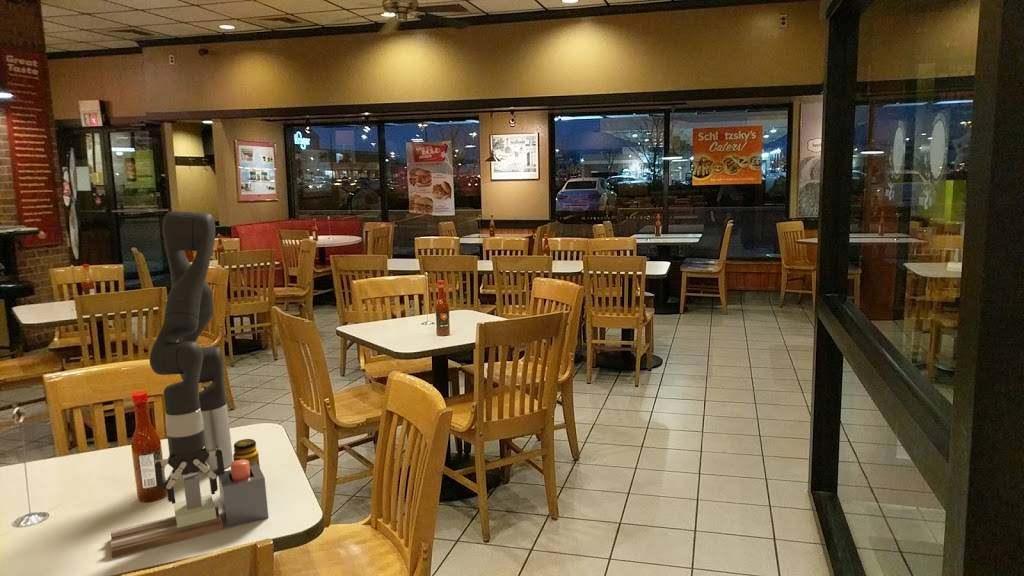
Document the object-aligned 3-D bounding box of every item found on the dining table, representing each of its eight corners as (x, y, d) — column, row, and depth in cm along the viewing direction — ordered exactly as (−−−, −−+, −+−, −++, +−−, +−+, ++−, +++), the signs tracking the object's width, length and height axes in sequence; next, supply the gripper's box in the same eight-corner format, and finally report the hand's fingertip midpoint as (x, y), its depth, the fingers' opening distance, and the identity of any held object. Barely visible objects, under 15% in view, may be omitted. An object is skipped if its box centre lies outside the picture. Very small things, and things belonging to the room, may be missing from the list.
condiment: (266, 487, 182) (261, 443, 180) (231, 496, 177) (226, 451, 175) (258, 477, 188) (254, 434, 186) (224, 486, 183) (220, 442, 181)
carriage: (174, 513, 164) (170, 474, 162) (212, 504, 167) (207, 466, 166) (177, 527, 157) (172, 487, 155) (216, 518, 161) (211, 478, 159)
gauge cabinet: (222, 512, 169) (217, 472, 168) (261, 502, 174) (257, 464, 172) (227, 528, 162) (223, 487, 160) (268, 517, 166) (264, 477, 164)
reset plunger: (231, 486, 167) (229, 462, 166) (249, 481, 169) (247, 458, 168) (234, 492, 164) (231, 468, 163) (252, 488, 166) (250, 464, 165)
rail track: (112, 539, 158) (110, 528, 158) (217, 513, 169) (216, 503, 168) (112, 557, 151) (110, 546, 150) (222, 529, 161) (221, 519, 161)
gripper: (217, 418, 165) (224, 483, 168) (148, 430, 158) (157, 499, 161) (221, 428, 159) (229, 496, 162) (150, 441, 152) (159, 512, 155)
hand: (193, 497), depth 161 cm, fingers open, 8 cm apart
